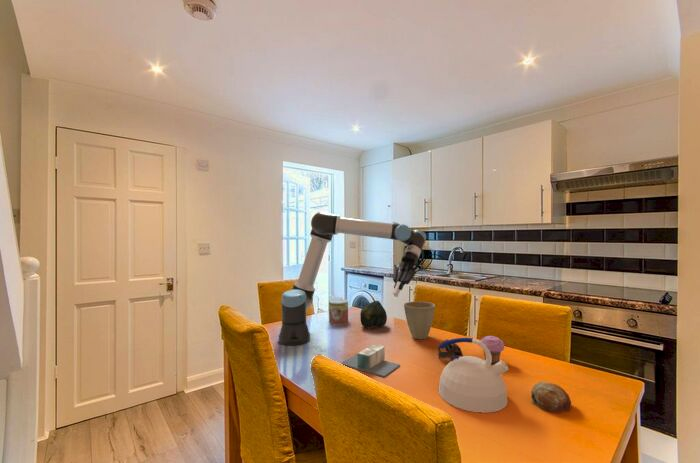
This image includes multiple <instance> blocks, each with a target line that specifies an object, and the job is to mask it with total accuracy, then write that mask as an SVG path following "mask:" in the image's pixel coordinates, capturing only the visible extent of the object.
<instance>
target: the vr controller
mask: <svg viewBox="0 0 700 463" xmlns="http://www.w3.org/2000/svg"><path fill="white" fill-rule="evenodd" d="M448 340H449V339H445V340H443V341H441V342H440V343H439V344H438V345H437V349H438V350H437V357H438V359H440V360H441V359H449V358H452V357H455V356H457V357H463V356H464V355H463V352H462V348H461V347H460V345H458V344H457V343H453V344H450V345H448V346H446V347H445V348H444V349H445V351H442V350H441V348H440V347H439V345H441V344H442V343H444V342H446V341H448Z"/></svg>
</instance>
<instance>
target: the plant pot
mask: <svg viewBox="0 0 700 463" xmlns="http://www.w3.org/2000/svg"><path fill="white" fill-rule="evenodd" d="M403 307H404V308H403V309H404V315H405V320H406V322H407V327H408V329H409V331H410V335H411V337H412V338H413V339H416V340H417V339H418V340H425V339H427V338H428V337H429V334H430V330H431V328H432V324H433V320H434V316H435V314H434V313H435V307H436V305H435V303H432V302H428V301H409V302H404V303H403Z"/></svg>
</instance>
